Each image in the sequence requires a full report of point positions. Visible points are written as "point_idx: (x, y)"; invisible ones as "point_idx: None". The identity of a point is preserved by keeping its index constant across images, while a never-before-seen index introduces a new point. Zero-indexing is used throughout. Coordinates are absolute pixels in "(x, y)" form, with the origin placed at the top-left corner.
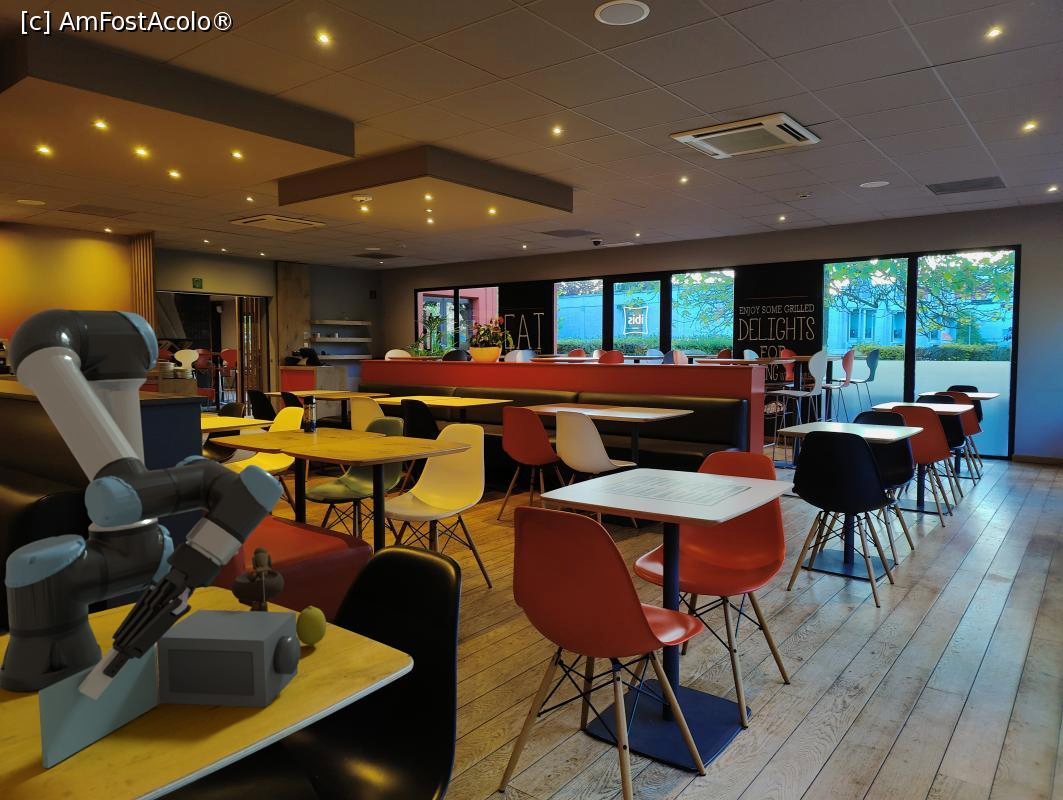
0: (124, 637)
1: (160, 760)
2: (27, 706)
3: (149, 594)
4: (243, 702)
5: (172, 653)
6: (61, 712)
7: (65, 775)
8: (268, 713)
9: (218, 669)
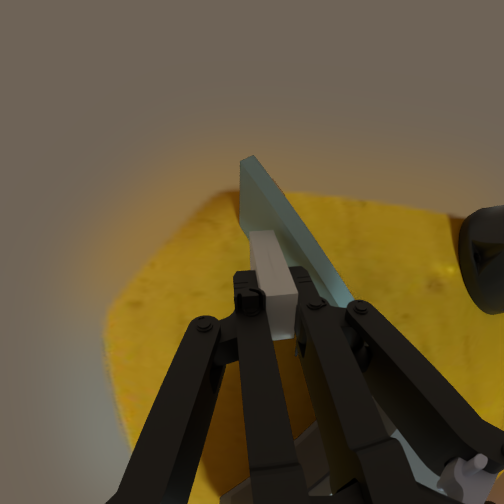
0: (307, 332)
1: (161, 351)
2: (430, 228)
3: (456, 447)
4: (246, 482)
5: None
6: (255, 215)
7: (210, 242)
8: (199, 493)
9: None
